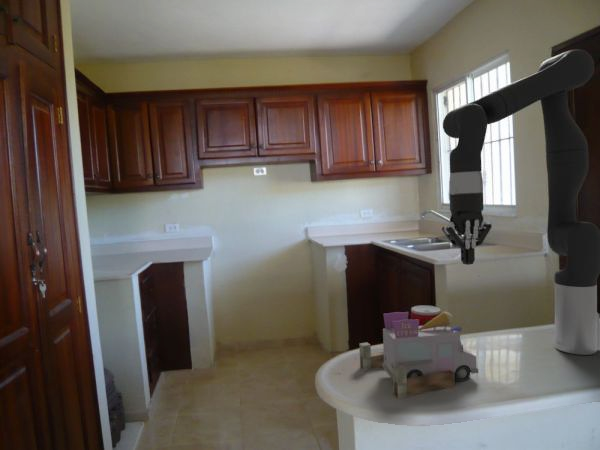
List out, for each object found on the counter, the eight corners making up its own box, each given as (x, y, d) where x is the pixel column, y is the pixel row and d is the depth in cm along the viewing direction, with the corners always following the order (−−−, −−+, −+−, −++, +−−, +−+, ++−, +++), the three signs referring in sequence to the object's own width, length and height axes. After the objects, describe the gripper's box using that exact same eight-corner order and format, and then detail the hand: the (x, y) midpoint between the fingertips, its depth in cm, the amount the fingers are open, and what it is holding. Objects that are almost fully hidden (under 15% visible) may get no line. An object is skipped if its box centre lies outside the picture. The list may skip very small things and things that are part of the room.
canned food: (428, 356, 113) (427, 314, 112) (405, 347, 120) (404, 308, 119) (448, 349, 117) (447, 309, 116) (425, 342, 124) (424, 303, 123)
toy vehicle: (480, 382, 96) (479, 315, 95) (394, 390, 94) (392, 322, 93) (460, 366, 105) (458, 305, 105) (381, 373, 103) (379, 311, 102)
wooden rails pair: (410, 358, 112) (409, 335, 111) (455, 386, 95) (455, 359, 94) (360, 367, 107) (359, 343, 107) (398, 398, 90) (397, 369, 90)
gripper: (478, 191, 110) (479, 259, 111) (432, 193, 105) (434, 264, 107) (500, 190, 102) (501, 263, 103) (452, 192, 98) (454, 268, 99)
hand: (467, 263), depth 105 cm, fingers closed
